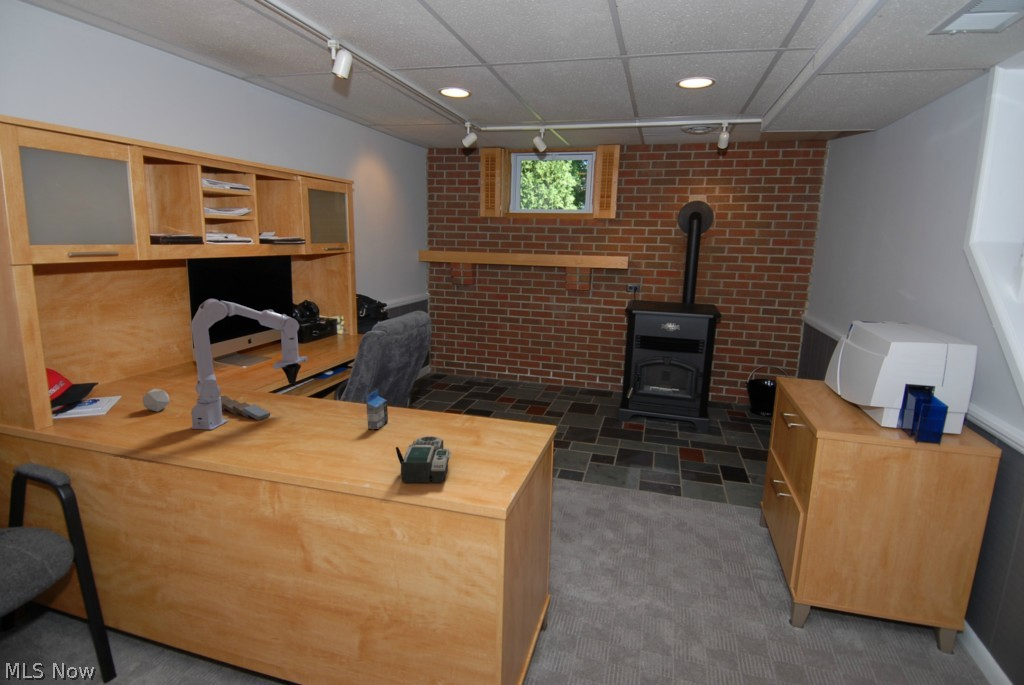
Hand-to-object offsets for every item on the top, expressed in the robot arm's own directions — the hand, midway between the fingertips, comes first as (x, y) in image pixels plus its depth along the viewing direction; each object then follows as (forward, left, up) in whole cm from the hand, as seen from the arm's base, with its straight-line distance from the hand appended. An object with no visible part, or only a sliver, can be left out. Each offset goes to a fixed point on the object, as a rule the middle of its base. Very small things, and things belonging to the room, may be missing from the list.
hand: (292, 383), depth 202 cm
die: (-8, +50, -11) cm, 52 cm away
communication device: (-42, -63, -11) cm, 77 cm away
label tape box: (-13, -38, -11) cm, 42 cm away
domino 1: (-4, +23, -9) cm, 25 cm away
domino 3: (-9, +10, -10) cm, 17 cm away
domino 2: (-7, +16, -10) cm, 20 cm away
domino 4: (-12, +5, -10) cm, 16 cm away
